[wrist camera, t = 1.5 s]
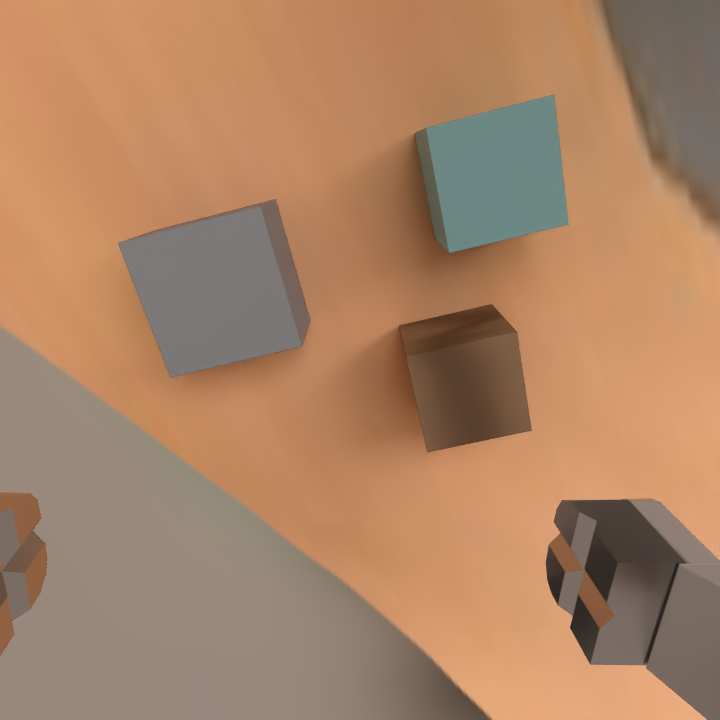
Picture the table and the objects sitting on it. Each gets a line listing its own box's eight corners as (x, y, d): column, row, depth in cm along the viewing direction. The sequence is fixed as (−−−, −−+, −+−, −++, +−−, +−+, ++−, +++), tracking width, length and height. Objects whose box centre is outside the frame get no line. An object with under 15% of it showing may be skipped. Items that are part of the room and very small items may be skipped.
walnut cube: (491, 303, 32) (516, 331, 27) (505, 388, 34) (531, 430, 29) (398, 325, 32) (405, 356, 27) (417, 408, 34) (427, 452, 29)
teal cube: (519, 106, 28) (554, 94, 23) (533, 213, 30) (568, 224, 25) (414, 133, 29) (425, 127, 24) (434, 237, 31) (449, 253, 25)
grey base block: (276, 199, 30) (260, 206, 25) (310, 319, 32) (301, 346, 28) (155, 230, 31) (118, 243, 26) (197, 346, 33) (170, 377, 28)
